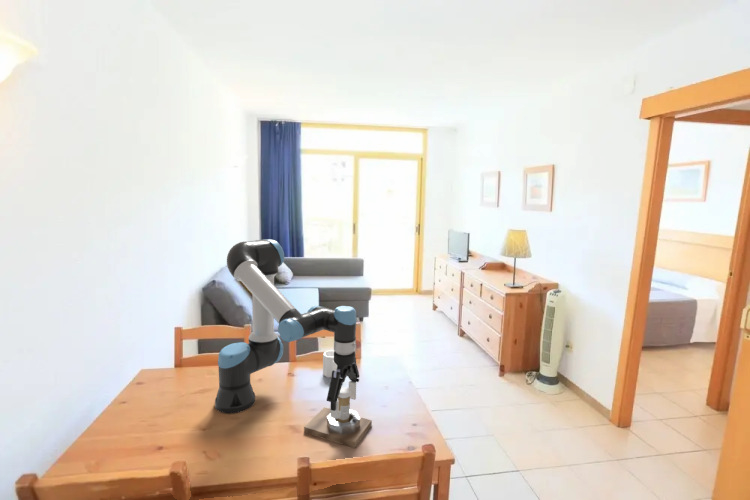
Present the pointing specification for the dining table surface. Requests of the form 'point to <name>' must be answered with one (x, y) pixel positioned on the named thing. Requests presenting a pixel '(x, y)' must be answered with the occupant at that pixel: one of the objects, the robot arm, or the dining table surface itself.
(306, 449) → the dining table surface
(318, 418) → the block
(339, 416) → the sprinkles bottle
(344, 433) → the ring
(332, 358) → the mug
